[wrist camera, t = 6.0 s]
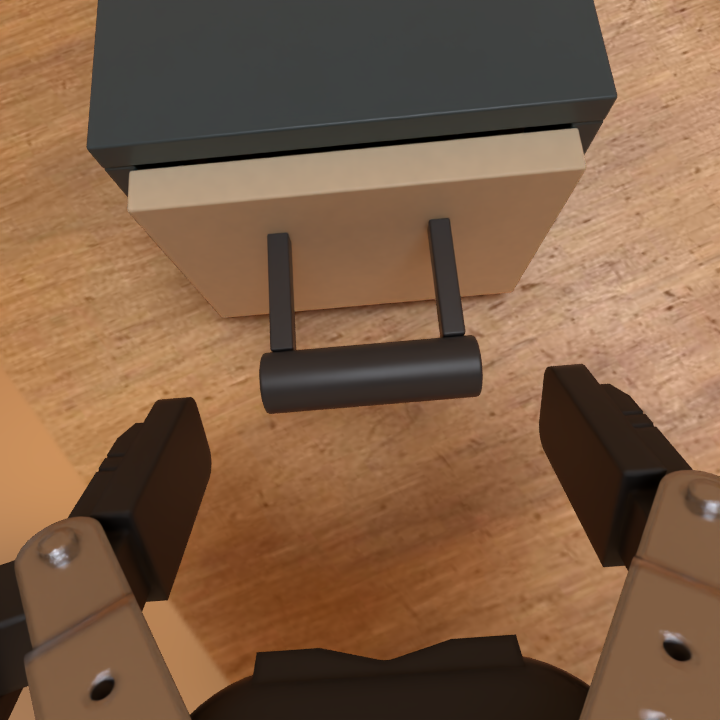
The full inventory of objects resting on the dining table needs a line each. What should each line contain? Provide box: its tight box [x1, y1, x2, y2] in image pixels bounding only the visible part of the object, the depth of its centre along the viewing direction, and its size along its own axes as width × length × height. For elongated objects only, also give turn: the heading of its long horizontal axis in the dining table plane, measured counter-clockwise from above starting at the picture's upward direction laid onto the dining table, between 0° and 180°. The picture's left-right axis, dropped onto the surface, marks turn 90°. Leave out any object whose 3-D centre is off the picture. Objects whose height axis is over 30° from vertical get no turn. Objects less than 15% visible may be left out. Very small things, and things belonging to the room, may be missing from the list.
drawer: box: [127, 128, 586, 414], centre depth 18 cm, size 18×11×8 cm, turn 4°
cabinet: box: [87, 0, 617, 197], centre depth 19 cm, size 15×13×10 cm
